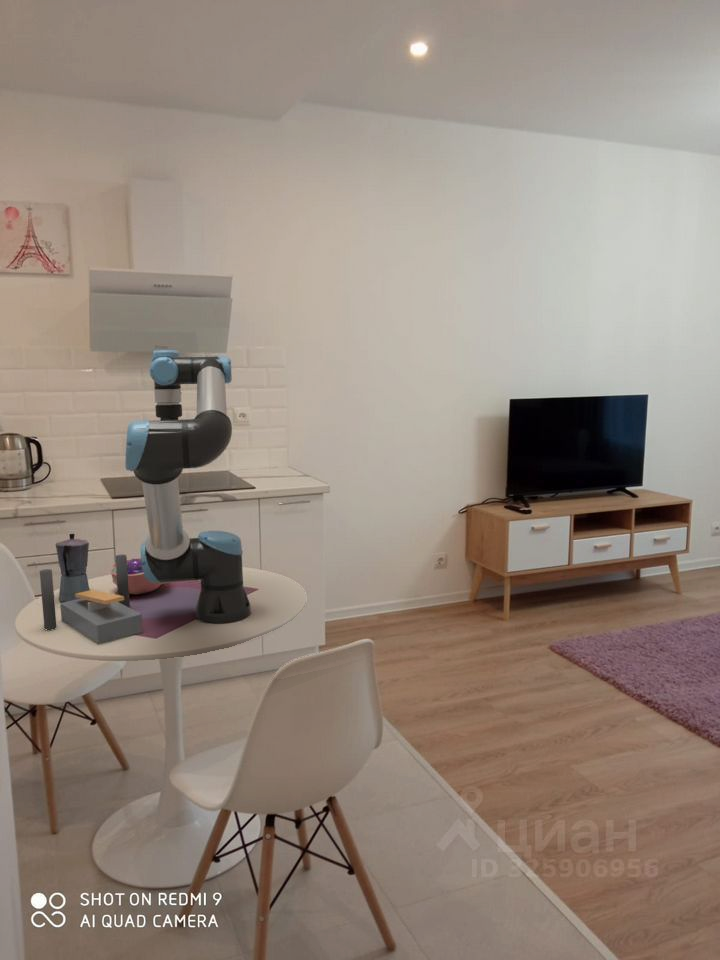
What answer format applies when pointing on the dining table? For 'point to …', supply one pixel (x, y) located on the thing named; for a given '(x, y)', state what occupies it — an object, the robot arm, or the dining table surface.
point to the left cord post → (48, 599)
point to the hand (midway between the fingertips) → (172, 483)
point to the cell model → (135, 578)
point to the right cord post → (122, 579)
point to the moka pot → (72, 567)
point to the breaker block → (101, 619)
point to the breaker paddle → (99, 597)
